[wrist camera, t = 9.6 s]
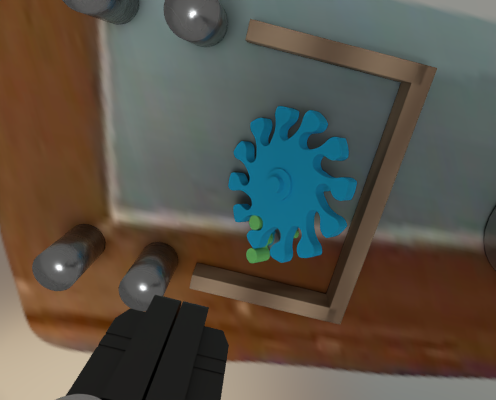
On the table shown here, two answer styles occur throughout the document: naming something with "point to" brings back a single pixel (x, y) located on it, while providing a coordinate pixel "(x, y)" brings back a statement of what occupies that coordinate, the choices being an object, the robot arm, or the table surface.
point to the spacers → (90, 238)
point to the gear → (289, 186)
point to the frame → (375, 189)
